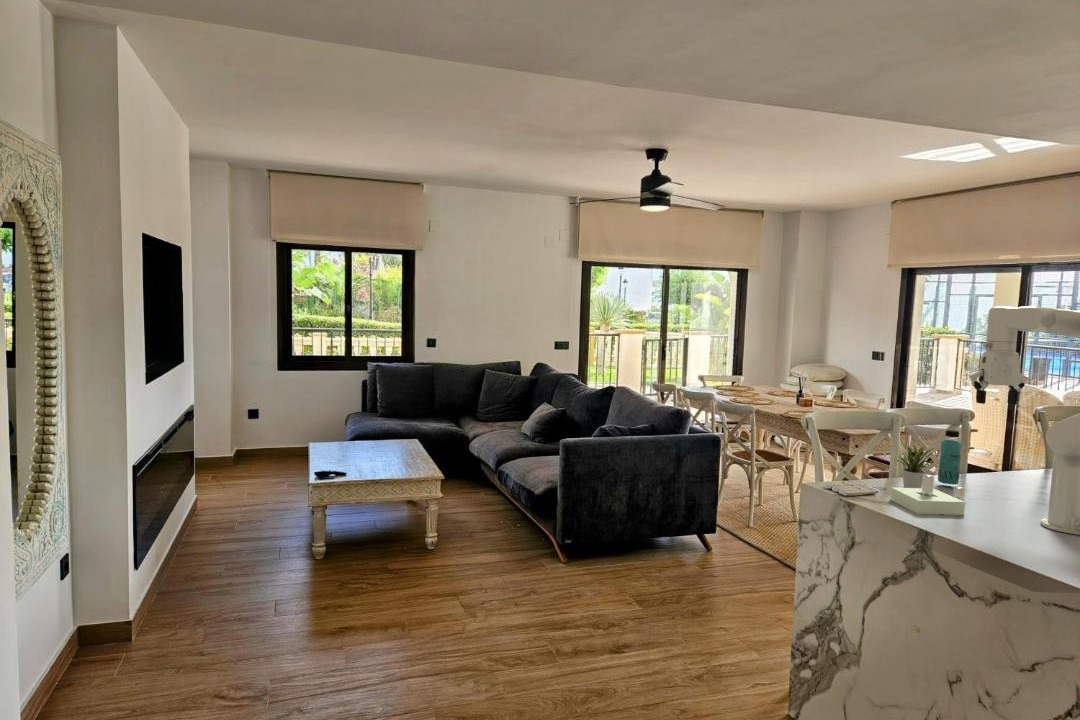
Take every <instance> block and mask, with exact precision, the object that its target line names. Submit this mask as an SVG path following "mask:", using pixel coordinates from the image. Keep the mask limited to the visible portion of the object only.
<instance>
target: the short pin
mask: <svg viewBox="0 0 1080 720" xmlns="http://www.w3.org/2000/svg"><path fill="white" fill-rule="evenodd" d="M965 490H966V487H964V486H963V487H962V486H955V485H954V486H953V491H952V497H954V498H957V499H959V500H961V501H964V502H965V492H966V491H965Z"/></svg>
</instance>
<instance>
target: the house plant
mask: <svg viewBox="0 0 1080 720" xmlns="http://www.w3.org/2000/svg"><path fill="white" fill-rule="evenodd" d="M911 443H912V446H913V449H912V448H911V447H910V446H909V445H908V443H906V445H905V446H906V449H907V452H906V451H905V450H903V452H902V454H903V455H904V457H905V458H906V459H904V458H903V457H901V456H899V455H897V457H898V458H899V459H900V460H899V459H896V460H895V461H896V462H899V463H901V464H902V465H903V466H904V467H905V468H901V473H902V483H903V488H922V481H923V474H926V471H925V470H923V469H927V467H929V466H930V464H932V462H937V460H935V459H934V460H933V459H932V460H926V459H927V458H929V457H930V456H931V455H934V453H937V452H936V451H934V450H935V449H938V450H939V449H940V447H933V448H930V449H928V450H926V451H925V445H922V446H921V447H920V448H919V449H917V446H916V445H915V443H914V442H913V441H911ZM895 447H896V448H898V446H896V445H895ZM924 451H925V452H924ZM932 451H933V452H932ZM913 452H914V453H913ZM923 452H924V453H923ZM929 452H930V453H929ZM928 453H929V454H928ZM922 454H923V455H922ZM927 454H928V455H927ZM926 455H927V456H926ZM925 456H926V457H925ZM922 459H923V460H922ZM902 461H903V462H902ZM926 466H927V467H926Z"/></svg>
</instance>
